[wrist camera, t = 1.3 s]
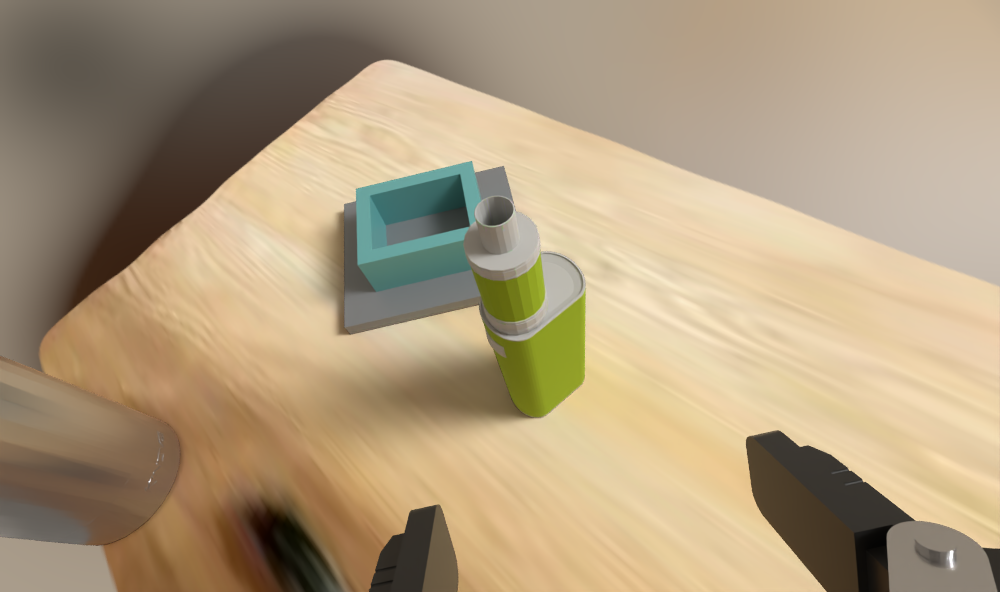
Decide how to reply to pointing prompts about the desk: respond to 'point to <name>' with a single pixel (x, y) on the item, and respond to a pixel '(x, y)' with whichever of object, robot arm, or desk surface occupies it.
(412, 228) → the dock
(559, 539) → the desk surface
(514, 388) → the vape
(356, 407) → the desk surface
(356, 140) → the desk surface
